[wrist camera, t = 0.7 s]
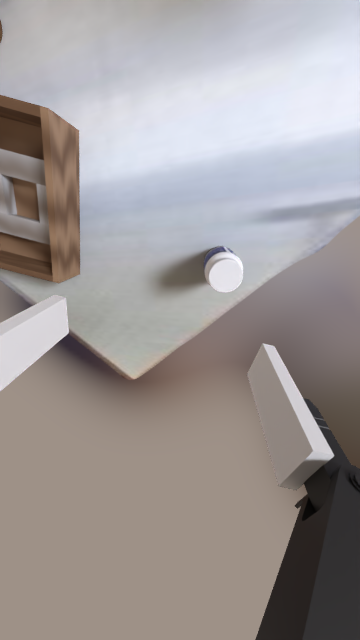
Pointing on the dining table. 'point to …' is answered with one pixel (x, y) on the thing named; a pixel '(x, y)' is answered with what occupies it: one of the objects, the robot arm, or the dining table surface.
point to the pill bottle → (223, 269)
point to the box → (38, 192)
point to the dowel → (0, 31)
